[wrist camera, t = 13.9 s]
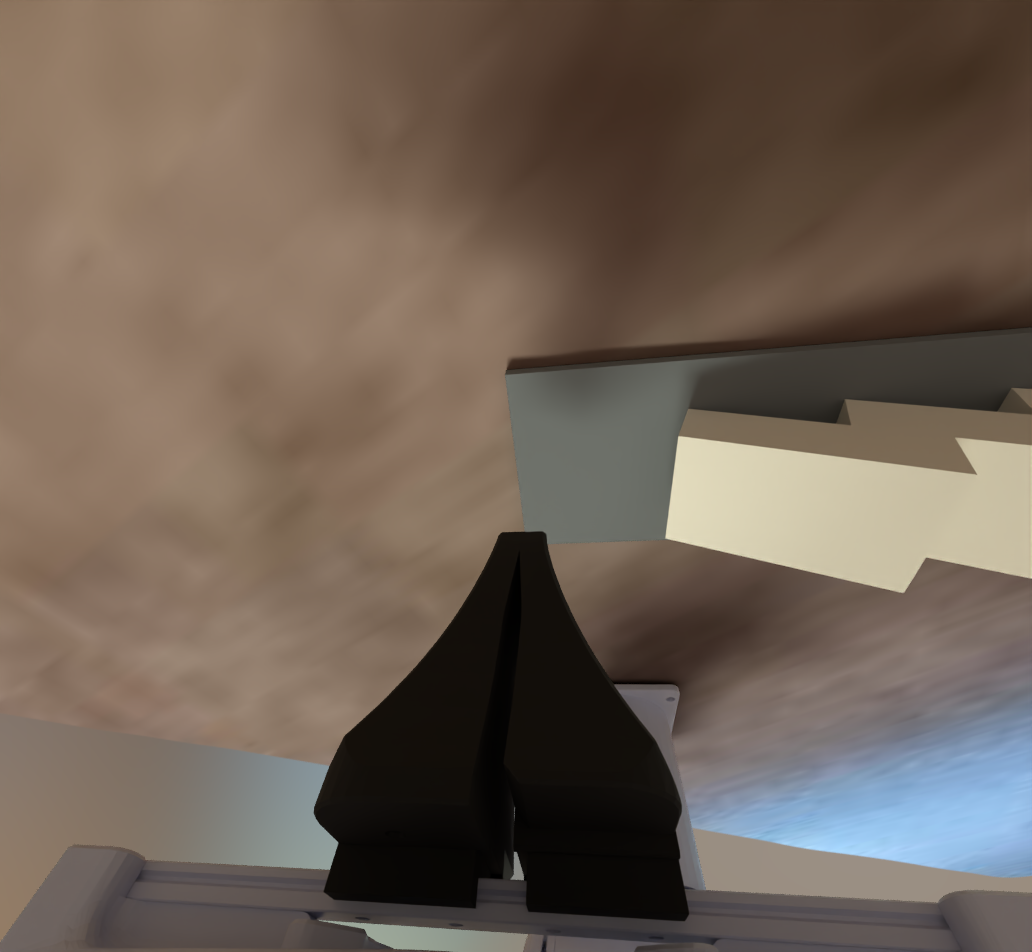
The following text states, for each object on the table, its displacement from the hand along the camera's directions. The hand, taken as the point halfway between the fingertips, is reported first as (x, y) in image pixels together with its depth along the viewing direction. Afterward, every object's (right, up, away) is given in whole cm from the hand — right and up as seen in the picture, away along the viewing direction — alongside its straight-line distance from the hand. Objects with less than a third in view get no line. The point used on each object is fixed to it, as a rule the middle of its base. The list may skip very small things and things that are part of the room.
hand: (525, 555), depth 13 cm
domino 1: (+6, +2, +2) cm, 7 cm away
